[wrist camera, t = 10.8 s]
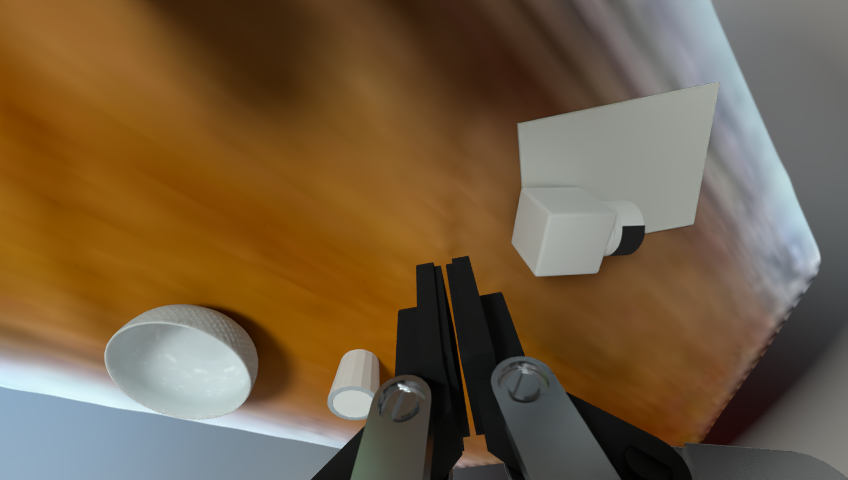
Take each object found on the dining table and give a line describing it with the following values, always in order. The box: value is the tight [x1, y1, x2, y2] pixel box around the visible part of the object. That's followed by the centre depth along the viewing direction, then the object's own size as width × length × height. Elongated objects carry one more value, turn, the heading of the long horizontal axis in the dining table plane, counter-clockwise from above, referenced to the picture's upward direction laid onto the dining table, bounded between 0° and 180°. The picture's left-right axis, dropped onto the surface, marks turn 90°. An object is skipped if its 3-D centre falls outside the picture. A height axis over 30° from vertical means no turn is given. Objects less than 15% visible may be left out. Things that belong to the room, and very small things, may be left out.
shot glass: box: [328, 349, 379, 420], centre depth 50 cm, size 7×7×7 cm
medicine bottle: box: [511, 187, 645, 276], centre depth 39 cm, size 7×7×12 cm
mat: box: [517, 82, 720, 233], centre depth 40 cm, size 16×20×1 cm
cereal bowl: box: [105, 304, 258, 419], centre depth 47 cm, size 17×17×7 cm
